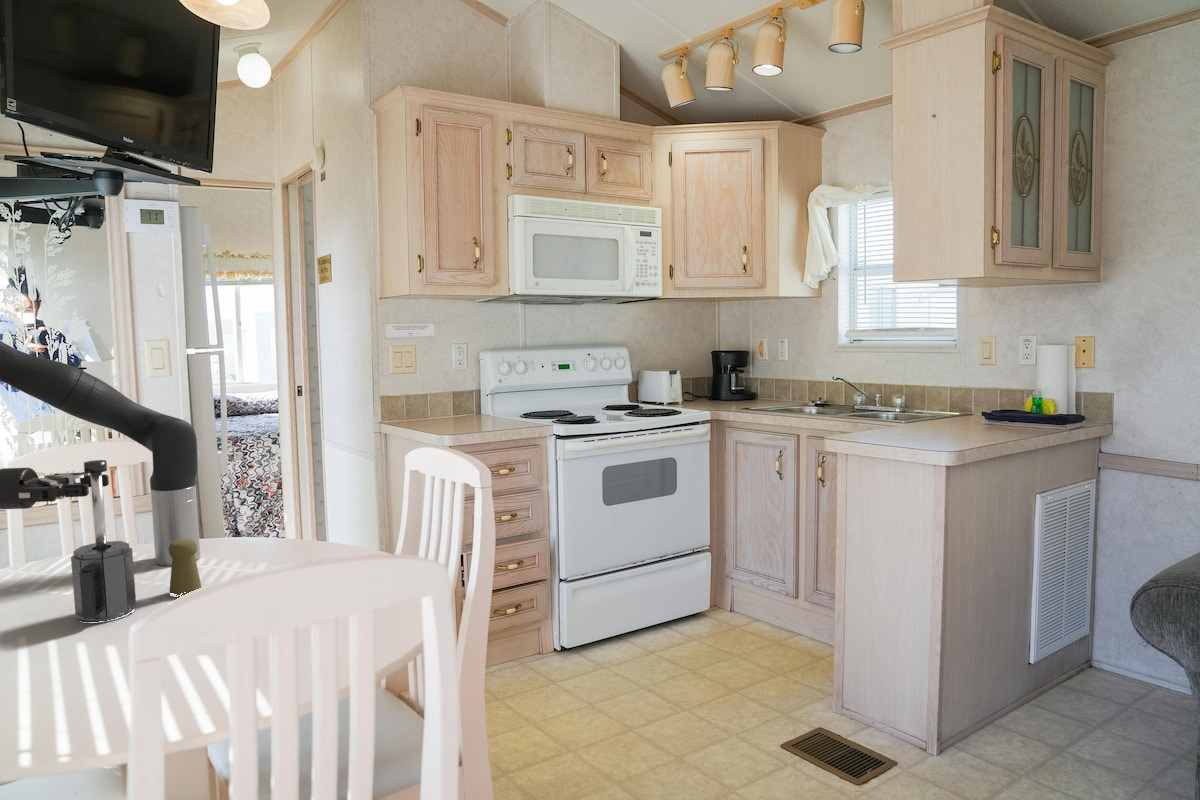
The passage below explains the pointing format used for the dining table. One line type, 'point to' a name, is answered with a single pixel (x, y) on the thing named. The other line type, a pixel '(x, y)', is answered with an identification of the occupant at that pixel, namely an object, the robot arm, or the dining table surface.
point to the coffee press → (103, 581)
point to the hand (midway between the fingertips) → (98, 485)
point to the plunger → (98, 500)
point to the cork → (184, 567)
